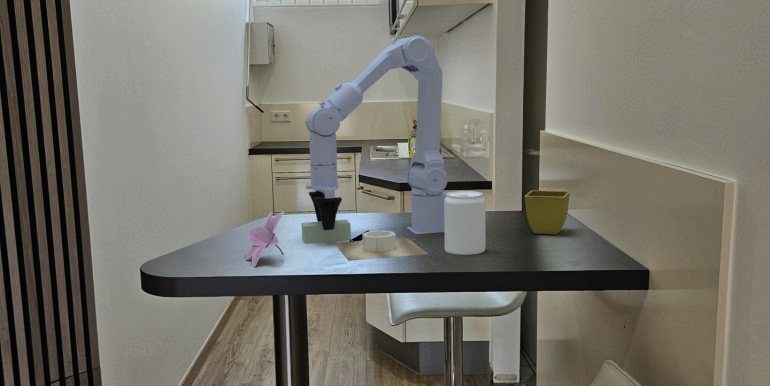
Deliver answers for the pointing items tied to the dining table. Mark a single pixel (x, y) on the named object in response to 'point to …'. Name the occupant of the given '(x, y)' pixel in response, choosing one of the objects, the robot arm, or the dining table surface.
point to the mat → (358, 253)
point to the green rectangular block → (326, 232)
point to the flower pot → (546, 210)
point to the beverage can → (464, 222)
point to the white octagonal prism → (379, 241)
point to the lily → (263, 237)
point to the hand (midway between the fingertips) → (325, 226)
